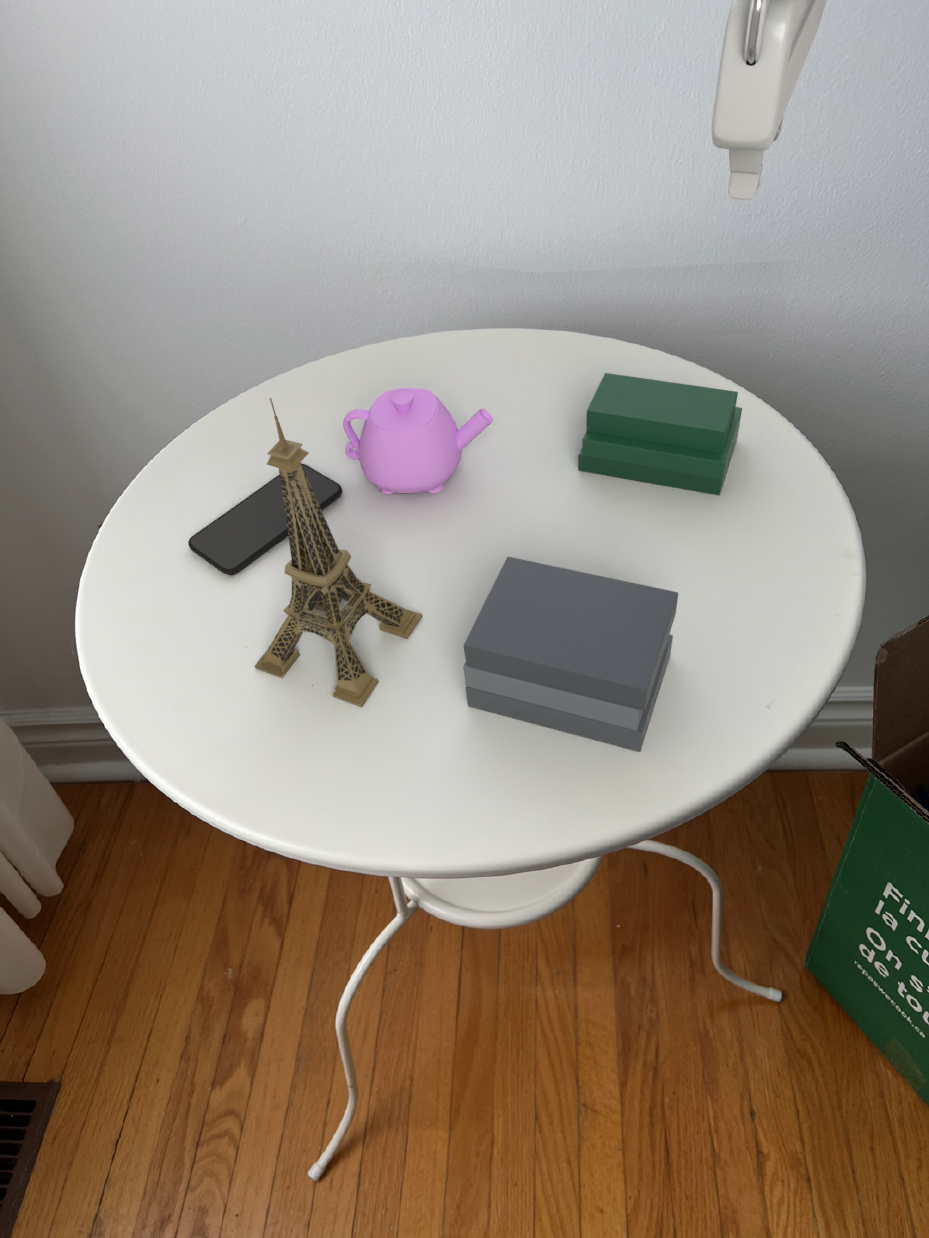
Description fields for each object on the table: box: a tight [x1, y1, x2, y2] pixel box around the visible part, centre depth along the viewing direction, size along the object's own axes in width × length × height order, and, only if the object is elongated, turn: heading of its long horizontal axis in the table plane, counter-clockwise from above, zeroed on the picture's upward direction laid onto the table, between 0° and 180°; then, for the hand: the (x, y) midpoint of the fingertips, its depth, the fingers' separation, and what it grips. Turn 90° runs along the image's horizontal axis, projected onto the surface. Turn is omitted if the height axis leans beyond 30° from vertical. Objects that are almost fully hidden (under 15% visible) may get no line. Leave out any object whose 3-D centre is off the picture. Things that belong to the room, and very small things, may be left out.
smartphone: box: [187, 462, 343, 576], centre depth 90 cm, size 7×1×15 cm
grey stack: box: [462, 556, 679, 753], centre depth 72 cm, size 14×10×8 cm
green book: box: [585, 372, 739, 454], centre depth 88 cm, size 13×6×2 cm, turn 69°
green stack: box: [577, 406, 743, 496], centre depth 91 cm, size 14×9×4 cm, turn 69°
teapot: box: [342, 387, 494, 495], centre depth 90 cm, size 10×15×9 cm
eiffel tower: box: [254, 397, 423, 708], centre depth 70 cm, size 11×11×25 cm
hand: (755, 165), depth 64 cm, fingers open, 8 cm apart
